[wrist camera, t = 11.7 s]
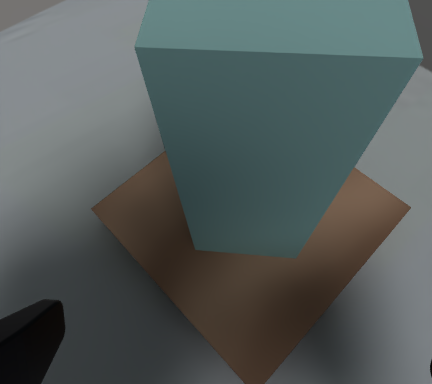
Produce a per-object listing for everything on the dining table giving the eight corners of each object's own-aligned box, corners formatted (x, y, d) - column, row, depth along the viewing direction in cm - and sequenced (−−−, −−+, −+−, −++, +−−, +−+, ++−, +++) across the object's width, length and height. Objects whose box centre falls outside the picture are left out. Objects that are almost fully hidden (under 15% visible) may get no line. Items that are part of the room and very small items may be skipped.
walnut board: (398, 218, 19) (411, 207, 17) (252, 392, 15) (254, 395, 14) (243, 105, 23) (243, 89, 21) (100, 219, 19) (90, 208, 18)
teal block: (295, 171, 18) (384, -90, 8) (296, 258, 16) (423, 58, 6) (206, 165, 19) (176, -91, 8) (195, 249, 17) (134, 46, 6)
